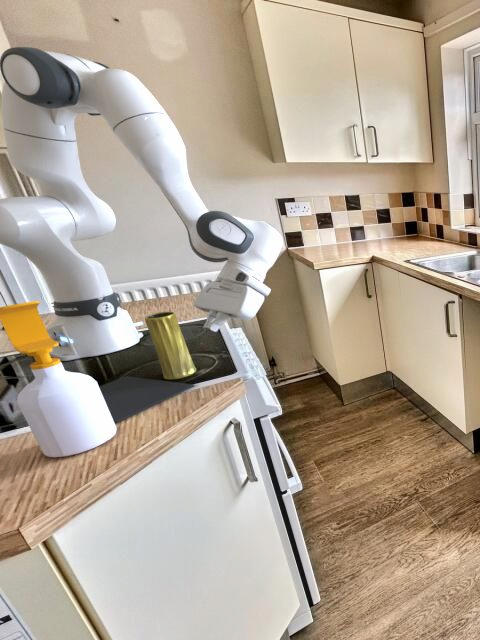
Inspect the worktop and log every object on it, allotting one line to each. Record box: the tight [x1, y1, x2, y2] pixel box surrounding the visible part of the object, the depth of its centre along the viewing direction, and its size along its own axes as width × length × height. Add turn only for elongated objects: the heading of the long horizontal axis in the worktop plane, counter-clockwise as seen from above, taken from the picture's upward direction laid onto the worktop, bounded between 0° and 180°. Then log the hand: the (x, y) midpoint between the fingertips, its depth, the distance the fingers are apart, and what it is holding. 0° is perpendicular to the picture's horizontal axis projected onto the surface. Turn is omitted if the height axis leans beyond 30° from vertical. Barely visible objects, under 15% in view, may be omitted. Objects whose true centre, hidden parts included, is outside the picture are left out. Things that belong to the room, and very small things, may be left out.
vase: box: [144, 311, 197, 381], centre depth 94 cm, size 6×6×14 cm
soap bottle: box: [0, 300, 117, 458], centre depth 67 cm, size 9×9×25 cm
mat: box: [98, 375, 195, 424], centre depth 86 cm, size 20×15×1 cm
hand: (209, 330), depth 100 cm, fingers closed
